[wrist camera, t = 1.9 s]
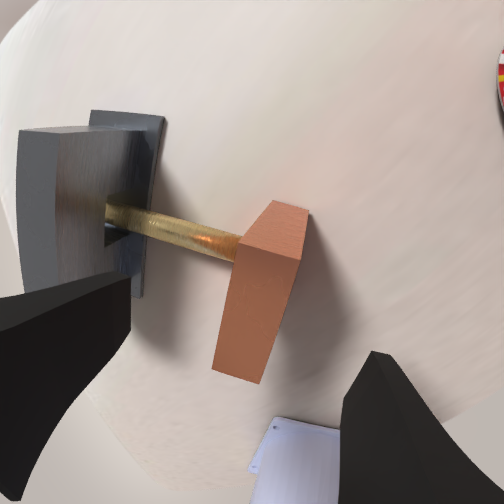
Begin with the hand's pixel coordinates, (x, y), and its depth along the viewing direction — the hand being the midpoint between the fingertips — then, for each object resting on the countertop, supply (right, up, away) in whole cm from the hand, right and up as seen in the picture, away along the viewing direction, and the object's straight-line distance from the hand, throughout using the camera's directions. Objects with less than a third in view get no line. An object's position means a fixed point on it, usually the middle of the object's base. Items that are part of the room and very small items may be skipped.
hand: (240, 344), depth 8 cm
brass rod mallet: (-4, +4, +8) cm, 10 cm away
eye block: (-8, +5, +9) cm, 13 cm away
